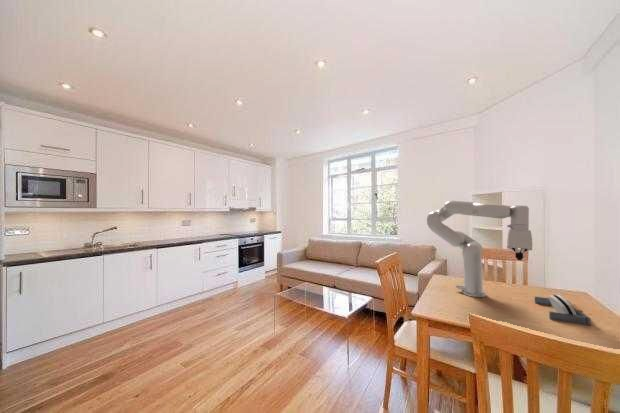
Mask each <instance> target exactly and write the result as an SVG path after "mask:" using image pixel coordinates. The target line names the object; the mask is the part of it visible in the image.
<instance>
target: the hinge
mask: <svg viewBox="0 0 620 413" xmlns="http://www.w3.org/2000/svg"><path fill="white" fill-rule="evenodd" d="M547 298H549V300H550V302H551V304H552V306H551V307H552V308H553V309H554V310H555V312H556V311H557V313H564V314H571V315H577V314H576V312H575V310H574V309H573V307H572V305H571V304H572V303H571V302H570V301H569V300H567V299H565V297H563V295H560V294H553V295H552V294H550V295H548V296H547ZM568 301H569V302H570V303H571V304H570V303H569V302H568Z"/></svg>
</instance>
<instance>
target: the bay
mask: <svg viewBox="0 0 620 413" xmlns="http://www.w3.org/2000/svg"><path fill="white" fill-rule="evenodd" d="M567 301H568V302H569V303H570V304H571V305H572V307H573V309H574V310H575V312H576V314H577V315H571V314H564V313H559V312H558V311H557V312H556V311H550V310H549V311H548V314H549V320H550V321H557V322H563V323H570V324H571V323H572V324H578V325H582V326H587V327H592V325H591V324H592V323H591V317H589V315H587V314H585V313H584V311H583V309H581V308H580V307H579V306H577V305H576V304H574V303H571V302H570V301H569V300H567ZM534 303H535V304H537V305H544V306H545V305H546V306H551V307H553V306H552V304H551V302H550V300H549V298H548V297H541V296H534Z"/></svg>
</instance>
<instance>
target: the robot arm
mask: <svg viewBox="0 0 620 413" xmlns="http://www.w3.org/2000/svg"><path fill="white" fill-rule="evenodd" d="M529 209H530V208H529V206H527V205H507V204H505V205H504V204H488V203H487V204H486V203H479V202H474V201H461V200H448V201H446V202H445V203H444V205H443V206H442V207H440V208H438V209H437V210H433V211H431V212H429V213H428V214H427V217H426V223H427V224H426V225H427V227H428V228H429V229H430V231H431V232H432V233H434V234H435V235H437V236H438V237H439V238H441V239H442V240H443V241H445V242H446V243H448V244H449V245H451V246H452V247H454V248H460V249H461V251H462V252H461V255H462V262H463V263H462V264H463V265H462V266H463V267H462V268H463V283H462V285H460V284H456V285H455V288H456V289H457V290H461V293H462V294H464V295H465V296H469V297H472V298H473V297H474V298H484V297H486V296H487V293H486V292H485V291H484V290H483V262H482V253H483V246H482V244H481V243H480V242H478V241H476V240H475V239H474V238H472V237H470V236H469V235H467V234H466V233H464V232H462V231H458V230H456V231H455V230H453V229H452V228H451V227H449V226H448V225H445V223H443V222H444V221H446V220H447V219H448V218H449V219H450V218H451V217H452V216H453V215H463V216H470V217H483V218H484V217H485V218H492V219H501V220H502V219H508V218H510V223H509V224H507V225H506V227H507V228H509V229H508V233H507V246H506V248H507V249H508V250H512V251H514V252H515V259H516V260H517V261H522V260H523V259H524V254H525V253H526V252H529V251H533V236H532V231H531V230H530V229H529V226H530V225H529V224H530V223H529V222H530V220H529V216H530V214H529V213H530V212H529V211H530V210H529ZM519 249H520V251H519Z"/></svg>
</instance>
